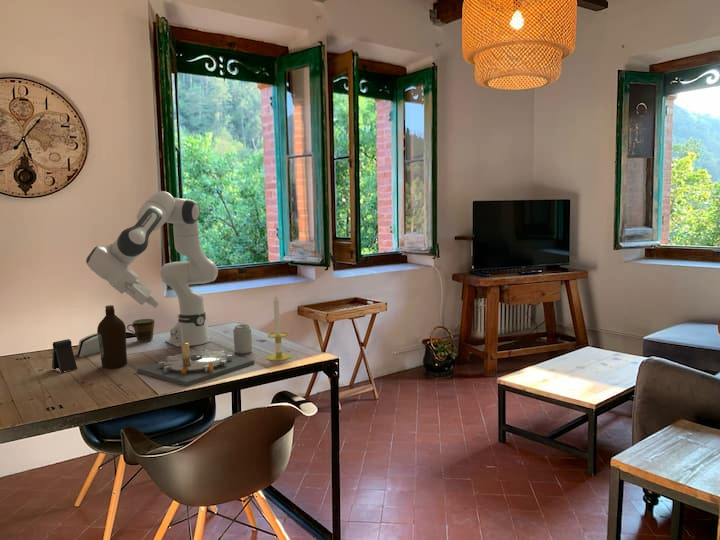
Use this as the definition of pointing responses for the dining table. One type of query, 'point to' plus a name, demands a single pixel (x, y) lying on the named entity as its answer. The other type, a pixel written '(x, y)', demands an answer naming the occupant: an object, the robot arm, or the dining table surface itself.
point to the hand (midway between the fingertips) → (157, 305)
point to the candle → (278, 336)
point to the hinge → (88, 346)
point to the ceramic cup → (143, 329)
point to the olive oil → (112, 340)
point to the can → (242, 339)
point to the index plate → (195, 376)
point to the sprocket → (194, 360)
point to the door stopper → (63, 356)
